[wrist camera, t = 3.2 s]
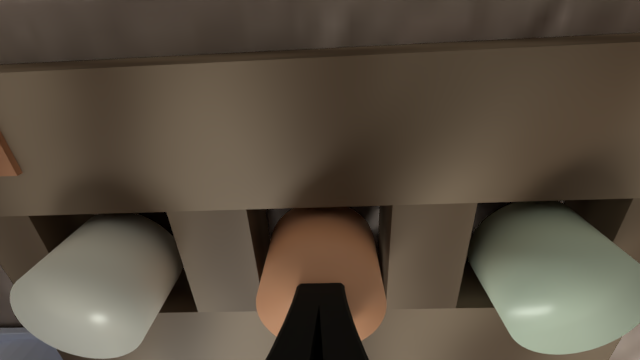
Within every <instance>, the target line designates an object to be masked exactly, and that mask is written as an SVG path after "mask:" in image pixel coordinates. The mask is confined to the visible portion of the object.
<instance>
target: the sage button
mask: <svg viewBox="0 0 640 360" xmlns="http://www.w3.org/2000/svg"><path fill="white" fill-rule="evenodd" d="M468 259H469V263H470V265H471V267H472V269H473V270H474V272H475V274H476V276H477V277H478V279H479V281H480V283H481V284H482V286H483V288H484V290H485V291H486V293H487V295H488V297H489V298H490V300H491V302H492V304H493V305H494V307H495V309H496V311H497V312H498V314H499V316H500V318H501V319H502V321H503V323H504V325H505V326H506V328H507V330H508V332H509V333H510V335H511V336H512V338H513V339H514V340H515V341H516V342H517V343H518V344H520V345H521V346H522V347H524V348H526V349H528V350H531V351H534V352H538V353H543V354H555V355H561V354H573V353H579V352H584V351H588V350H592V349H595V348H598V347H601V346H603V345H606V344H608V343H610V342H612V341H614V340H616V339H618V338H620V337H622V336H623V335H625V334H626V333H628V332H629V331H631V330H632V329H633V328H635V327H636V326H637V325H638V324H639V323H640V264H639V263H638V262H637V261H636V260H634V259H633V258H632V257H631V256H629V255H628V254H627V253H626V252H624V251H623V250H622V249H621V248H619V247H618V246H617V245H616V244H614V243H613V242H612V241H611V240H609V239H608V238H607V237H606V236H604V235H603V234H602V233H601V232H599V231H598V230H597V229H596V228H594V227H593V226H592V225H591V224H589V223H588V222H587V221H585V220H584V219H583V218H582V217H580V216H579V215H578V214H577V213H575V212H574V211H573V210H572V209H570V208H569V207H568V206H566V205H565V204H562V203H560V202H558V201H524V202H515V203H512V204H509V205H507V206H505V207H503V208H501V209H499V210H497V211H496V212H494V213H492V214H491V215H490V216H488V217H487V218H486V219H485V220H484V221H483V222H482V223H481V224H480V225H479V226H478V227H477V229H476V230H475V232H474V233H473V235H472V237H471V239H470V242H469V247H468Z"/></svg>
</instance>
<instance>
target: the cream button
mask: <svg viewBox="0 0 640 360" xmlns="http://www.w3.org/2000/svg"><path fill="white" fill-rule="evenodd" d="M182 269H183V263H182V260H181V257H180V254H179V250H178V247H177V244H176V241H175V239H174V238H173V236H172V235H171V234H170V233H169V232H168V231H167V230H166V229H164V228H163V227H162V226H160V225H159V224H158V223H156V222H154V221H152V220H151V219H148V218H146V217H144V216H141V215H138V214H135V213H109V214H97V215H95V216H93V217H91V218H90V219H89V220H88V221H86V222H85V223H84V224H83V225H82V226H81V227H79V228H78V229H77V230H76V231H75V232H73V233H72V234H71V235H70V236H69V237H68V238H66V239H65V240H64V241H63V242H62V243H61V244H59V245H58V246H57V247H56V248H55V249H54V250H52V251H51V252H50V253H49V254H48V255H47V256H45V257H44V258H43V259H42V260H41V261H39V262H38V263H37V264H36V265H35V266H34V267H32V268H31V269H30V270H29V271H28V272H27V273H25V274H24V275H23V276H22V277H21V278H20V279H18V280H17V281H16V283H15V284H14V285H13V287H12V289H11V292H10V304H11V308H12V310H13V312H14V314H15V316H16V318H17V319H18V320H19V322H20V323H21V324H22V325H23V326H24V327H25V328H26V329H27V330H28V331H29V332H30V333H31V334H32V335H34V336H35V337H37V338H38V339H39V340H41V341H43V342H44V343H46V344H48V345H50V346H52V347H54V348H56V349H58V350H61V351H63V352H66V353H69V354H73V355H76V356H81V357H86V358H94V359H108V358H116V357H120V356H124V355H126V354H129V353H130V352H132V351H134V350H135V349H136V348H137V347H138V346H139V345H140V344H141V342H142V341H143V339H144V337H145V335H146V334H147V332H148V330H149V328H150V327H151V325H152V323H153V321H154V320H155V318H156V316H157V314H158V313H159V311H160V309H161V307H162V306H163V304H164V302H165V300H166V299H167V297H168V295H169V293H170V292H171V290H172V288H173V286H174V285H175V283H176V281H177V279H178V278H179V276H180V274H181V272H182Z"/></svg>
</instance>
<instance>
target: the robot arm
mask: <svg viewBox="0 0 640 360" xmlns="http://www.w3.org/2000/svg"><path fill="white" fill-rule="evenodd" d="M0 360H63V359H62V357H61V356H60V354H59V353H58V351H57V350H56V348H54V347H52V346H50V345H48V344H46V343H44V342H43V341H41V340H39V339H38V338H37V337H35V336H34V335H32V334H31V333H30V332H29V331H28V330H27V329H26V328H25V327H23V328H0ZM265 360H369V359H368V356H367V354H366V352H365V349H364V347H363V344H362V342H361V339H360V337H359V334H358V332H357V329H356V327H355V324H354V321H353V318H352V315H351V312H350V308H349V305H348V301H347V297H346V293H345V286H344V285H343V284H342V283H300V284H299V285H298V286H297V288H296V291H295V294H294V297H293V300H292V303H291V306H290V308H289V311H288V313H287V315H286V318H285V320H284V322H283V325H282V327H281V329H280V331H279V333H278V335H277V337H276V339H275V342H274V344H273V346H272V348H271V350H270V352H269V354H268V356H267V358H266V359H265Z"/></svg>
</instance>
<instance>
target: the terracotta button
mask: <svg viewBox="0 0 640 360" xmlns="http://www.w3.org/2000/svg"><path fill="white" fill-rule="evenodd" d="M300 283H342V284H343V285H344V286H345V293H346V297H347V301H348V305H349V308H350V312H351V315H352V318H353V321H354V324H355V327H356V329H357V332H358V334H359V337H360V339H361V341H362V340H364V339H365V338H367V337H368V336H370V335H371V334H372V333H373V332H374V331H375V330H376V329H377V328H378V327H379V326H380V324H381V322H382V321H383V319H384V316H385V313H386V308H387V302H386V296H385V291H384V286H383V281H382V277H381V272H380V267H379V262H378V257H377V252H376V247H375V242H374V238H373V233H372V230H371V228H370V226H369V225H368V223H367V222H366V220H365V219H364V218H363V217H362V216H361V215H360V214H359V213H357V212H356V211H354V210H353V209H351V208H349V207H316V208H293V209H292V210H290V211H288V212H287V213H286V214H285V215H283V216H282V218H281V219H280V220H279V221H278V223H277V224H276V226H275V228H274V230H273V233H272V237H271V241H270V245H269V249H268V253H267V257H266V261H265V265H264V269H263V273H262V276H261V280H260V284H259V288H258V292H257V296H256V309H257V312H258V315H259V318H260V320H261V321H262V323H263V324H264V326H265V327H266V328H267V329H268V330H269V331H270V332H271V333H272V334H274V335H275V336H277V335H278V333H279V331H280V329H281V327H282V325H283V322H284V320H285V318H286V315H287V313H288V311H289V308H290V306H291V303H292V300H293V297H294V294H295V291H296V288H297V286H298V285H299V284H300Z"/></svg>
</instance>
